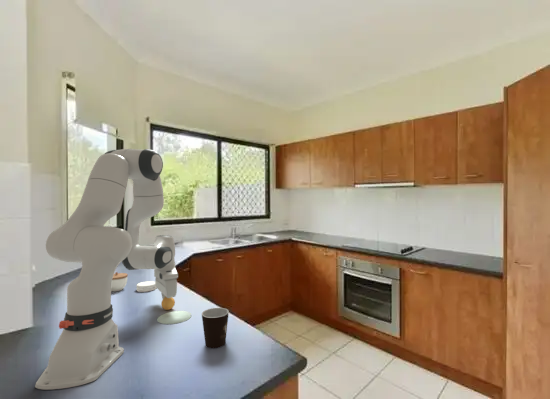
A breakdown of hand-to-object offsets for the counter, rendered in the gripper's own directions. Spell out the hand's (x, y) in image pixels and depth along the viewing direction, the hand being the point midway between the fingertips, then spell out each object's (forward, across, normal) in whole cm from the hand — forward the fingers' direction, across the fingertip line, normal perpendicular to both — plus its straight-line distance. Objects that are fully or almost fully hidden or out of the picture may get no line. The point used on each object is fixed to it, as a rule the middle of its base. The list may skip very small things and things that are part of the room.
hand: (165, 302), depth 126 cm
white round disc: (+3, -34, 0) cm, 34 cm away
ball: (-1, +4, 0) cm, 4 cm away
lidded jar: (+3, -44, -13) cm, 46 cm away
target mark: (+2, +15, 0) cm, 15 cm away
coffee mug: (+2, +44, +5) cm, 45 cm away
